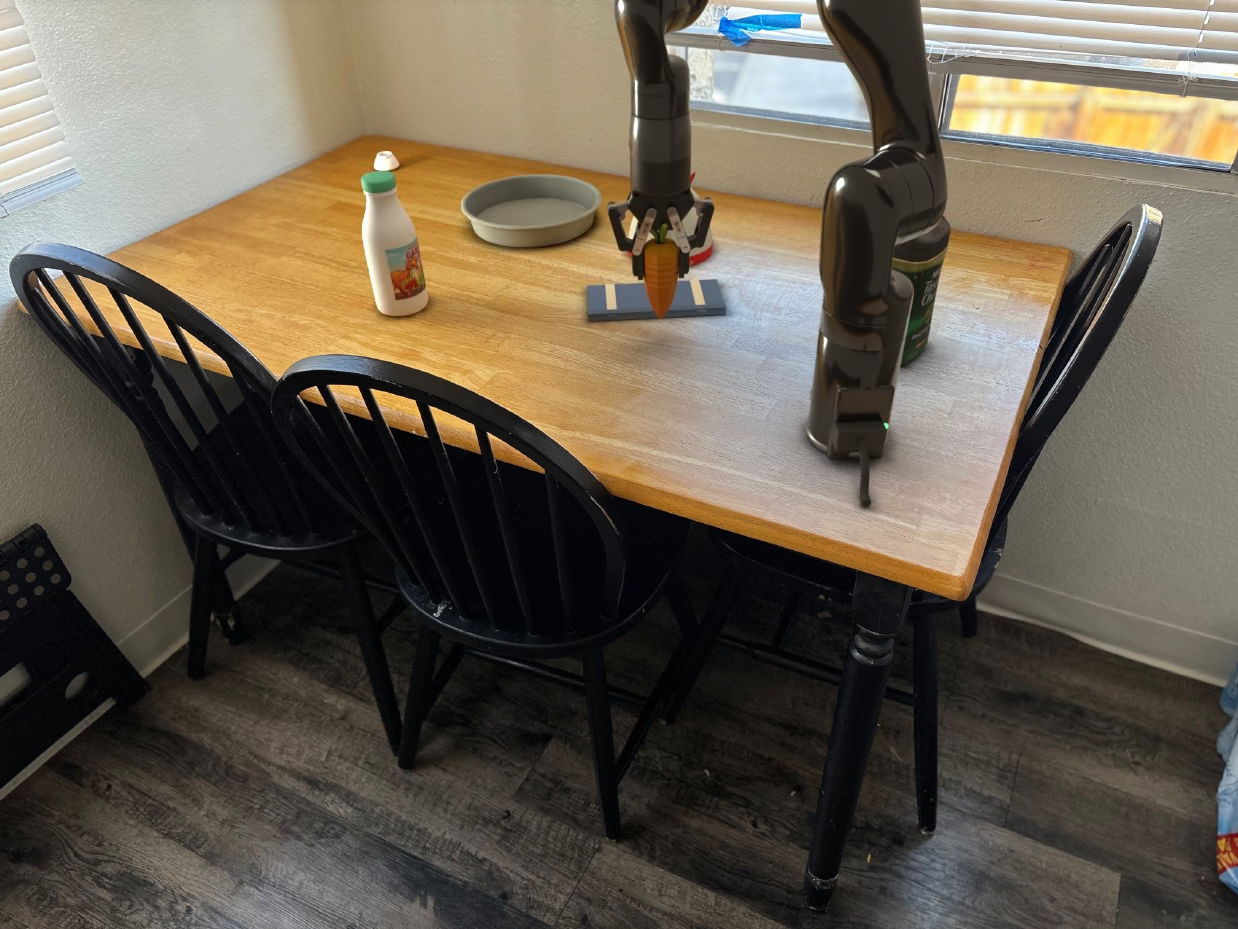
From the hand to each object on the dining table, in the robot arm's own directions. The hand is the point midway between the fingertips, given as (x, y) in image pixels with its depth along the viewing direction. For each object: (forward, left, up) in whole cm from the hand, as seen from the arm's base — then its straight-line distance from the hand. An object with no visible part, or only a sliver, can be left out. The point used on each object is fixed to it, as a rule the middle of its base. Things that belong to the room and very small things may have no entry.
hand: (660, 276), depth 120 cm
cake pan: (+43, +19, -10) cm, 48 cm away
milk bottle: (+14, +38, -10) cm, 42 cm away
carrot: (0, 0, -7) cm, 7 cm away
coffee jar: (-6, -31, -10) cm, 33 cm away
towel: (+11, 0, -10) cm, 15 cm away
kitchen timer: (+29, -4, -10) cm, 31 cm away
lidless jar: (+75, +50, -10) cm, 91 cm away
